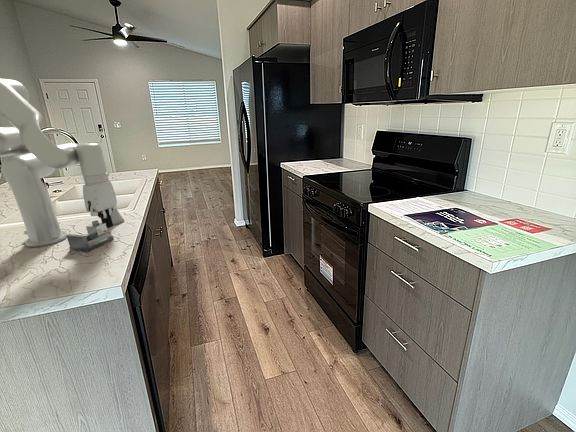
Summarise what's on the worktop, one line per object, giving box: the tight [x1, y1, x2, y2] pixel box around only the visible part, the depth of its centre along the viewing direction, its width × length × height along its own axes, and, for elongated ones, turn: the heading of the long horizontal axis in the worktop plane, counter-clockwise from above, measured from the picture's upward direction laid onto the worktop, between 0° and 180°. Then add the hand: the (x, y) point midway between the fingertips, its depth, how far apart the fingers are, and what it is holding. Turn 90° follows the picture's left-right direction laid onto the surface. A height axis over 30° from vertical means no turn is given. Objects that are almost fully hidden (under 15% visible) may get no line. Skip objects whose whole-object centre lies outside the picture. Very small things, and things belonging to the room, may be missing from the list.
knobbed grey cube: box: [85, 220, 109, 239], centre depth 111 cm, size 4×6×6 cm, turn 74°
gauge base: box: [66, 231, 115, 253], centre depth 109 cm, size 11×8×6 cm
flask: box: [111, 207, 125, 226], centre depth 130 cm, size 7×7×10 cm
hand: (108, 226), depth 116 cm, fingers closed
